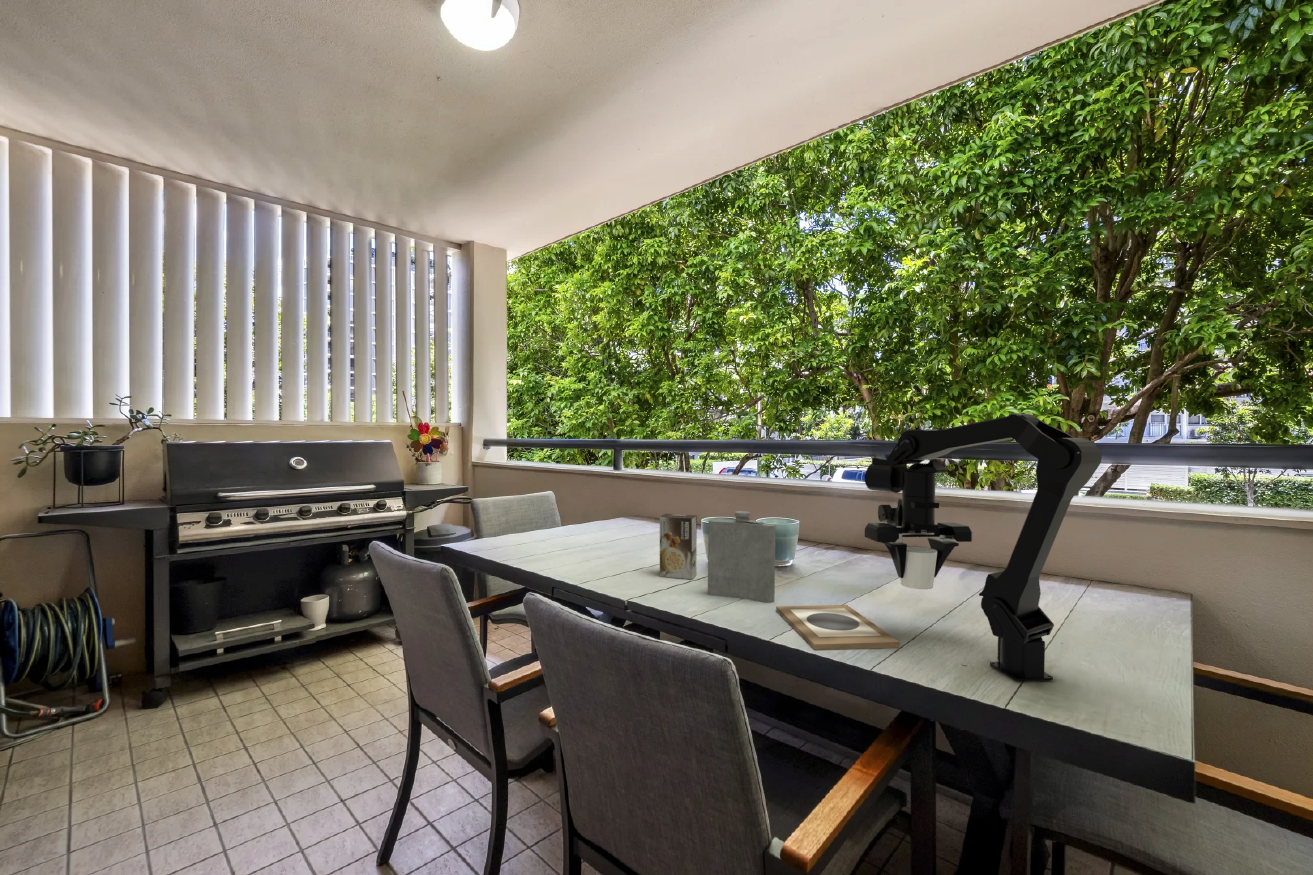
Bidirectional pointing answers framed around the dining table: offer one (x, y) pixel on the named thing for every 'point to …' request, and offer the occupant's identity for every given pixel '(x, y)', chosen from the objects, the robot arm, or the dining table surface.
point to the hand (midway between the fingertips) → (916, 577)
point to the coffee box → (678, 546)
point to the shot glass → (919, 567)
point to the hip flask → (741, 558)
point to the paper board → (835, 627)
